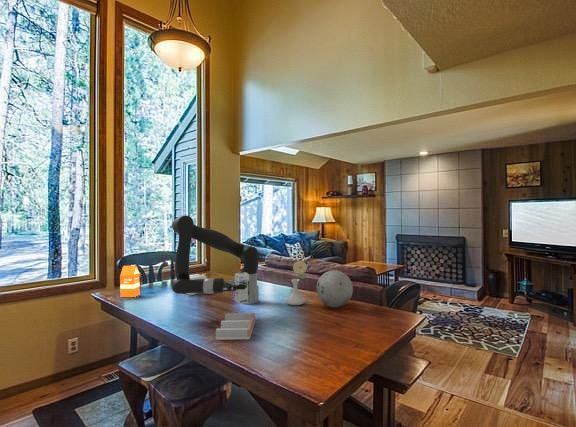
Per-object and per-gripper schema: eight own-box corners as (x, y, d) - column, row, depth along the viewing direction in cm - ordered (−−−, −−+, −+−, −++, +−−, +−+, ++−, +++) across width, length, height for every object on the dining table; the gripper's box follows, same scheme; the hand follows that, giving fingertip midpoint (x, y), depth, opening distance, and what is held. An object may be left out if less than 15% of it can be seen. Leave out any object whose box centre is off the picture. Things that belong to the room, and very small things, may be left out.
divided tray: (215, 339, 132) (215, 330, 132) (226, 321, 154) (225, 313, 154) (249, 339, 132) (249, 329, 132) (254, 321, 154) (254, 313, 154)
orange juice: (134, 298, 201) (133, 266, 201) (120, 298, 202) (119, 266, 202) (139, 294, 209) (139, 264, 209) (126, 295, 209) (126, 264, 209)
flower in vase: (282, 305, 179) (282, 261, 179) (290, 300, 190) (289, 258, 190) (304, 308, 174) (303, 262, 174) (310, 302, 185) (310, 259, 185)
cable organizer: (186, 296, 203) (185, 278, 203) (179, 293, 211) (178, 276, 211) (207, 292, 213) (207, 275, 213) (200, 289, 221) (199, 273, 221)
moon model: (360, 306, 176) (359, 270, 176) (339, 314, 162) (338, 275, 162) (331, 299, 190) (330, 266, 190) (309, 307, 176) (308, 270, 176)
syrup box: (238, 304, 156) (238, 275, 156) (235, 301, 162) (234, 273, 161) (249, 302, 159) (249, 273, 159) (245, 299, 164) (245, 271, 164)
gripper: (210, 281, 153) (244, 280, 153) (216, 275, 167) (247, 274, 167) (210, 296, 153) (244, 296, 153) (217, 289, 167) (248, 289, 167)
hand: (246, 285), depth 160 cm, fingers closed on syrup box, 7 cm apart
